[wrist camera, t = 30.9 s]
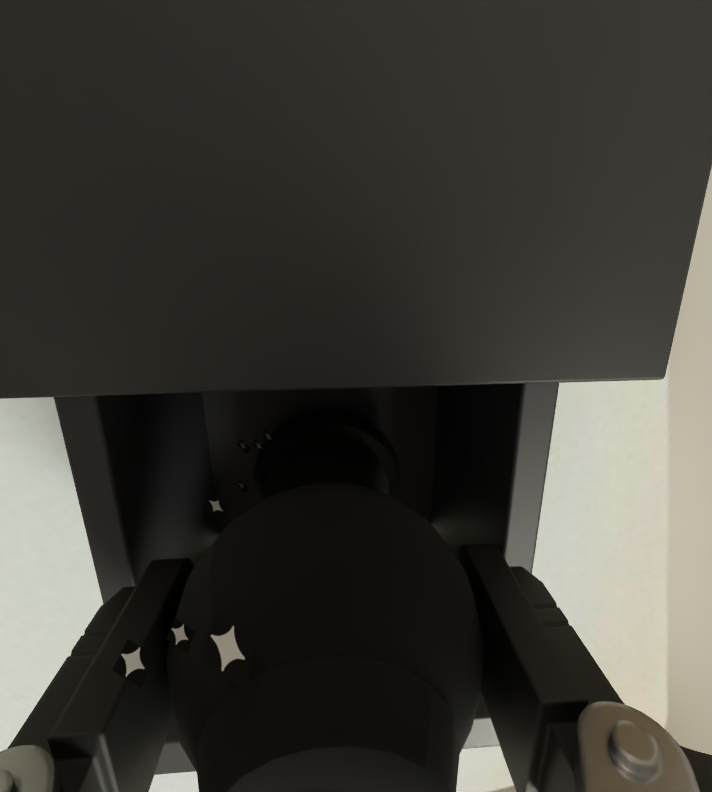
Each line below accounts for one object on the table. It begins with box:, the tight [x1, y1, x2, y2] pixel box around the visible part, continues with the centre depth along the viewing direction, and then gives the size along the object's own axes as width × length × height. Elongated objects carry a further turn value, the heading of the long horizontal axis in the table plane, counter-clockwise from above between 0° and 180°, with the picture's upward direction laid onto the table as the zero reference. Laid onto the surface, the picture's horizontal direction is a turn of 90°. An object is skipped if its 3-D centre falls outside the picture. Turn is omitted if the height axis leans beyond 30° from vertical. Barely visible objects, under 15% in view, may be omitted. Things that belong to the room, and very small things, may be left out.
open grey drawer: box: [54, 382, 559, 775], centre depth 13 cm, size 19×11×8 cm, turn 1°
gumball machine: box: [112, 411, 484, 792], centre depth 10 cm, size 7×6×10 cm
